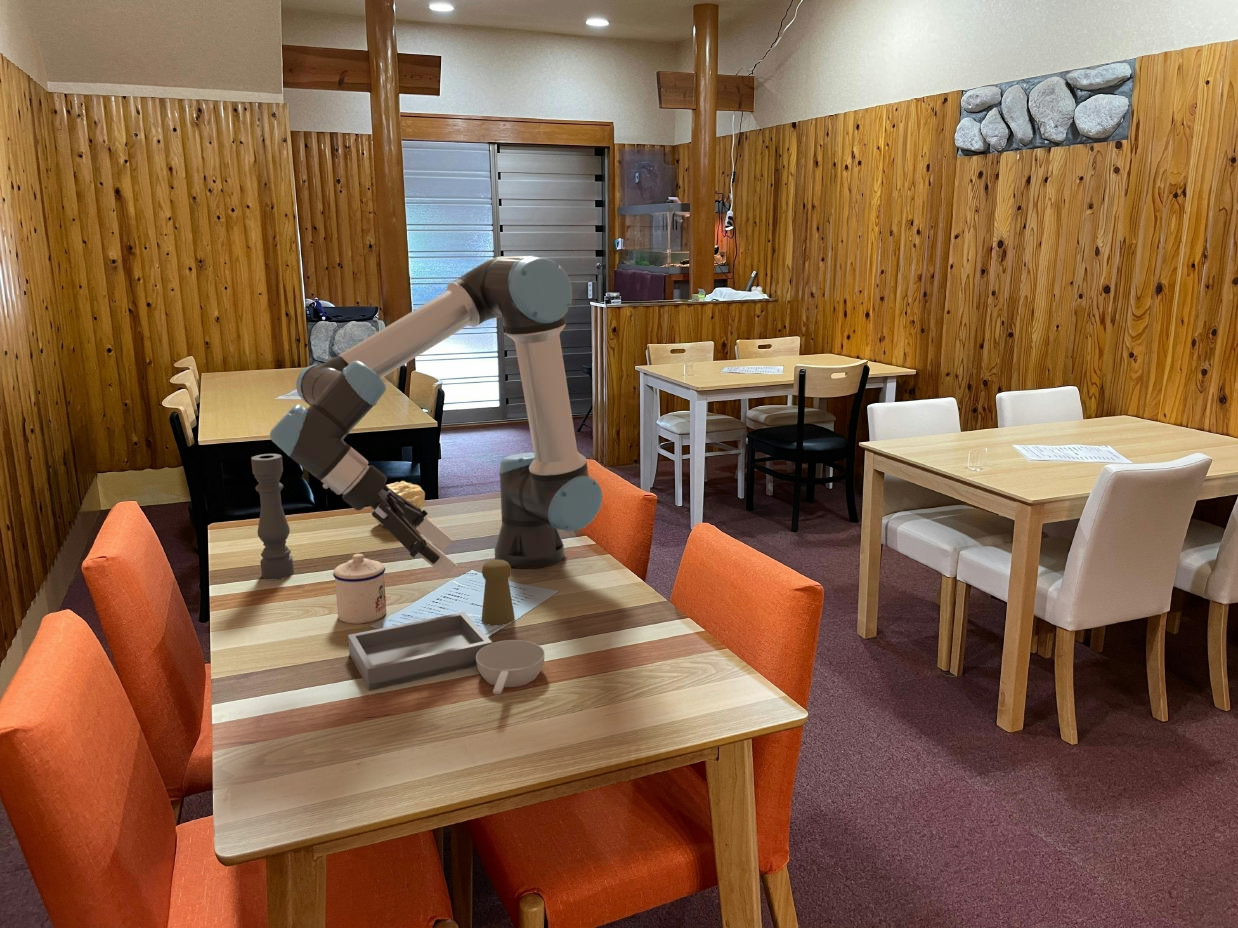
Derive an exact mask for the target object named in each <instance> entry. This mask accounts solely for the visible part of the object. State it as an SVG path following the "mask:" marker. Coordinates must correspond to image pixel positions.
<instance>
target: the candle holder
mask: <svg viewBox="0 0 1238 928" xmlns="http://www.w3.org/2000/svg"><path fill="white" fill-rule="evenodd" d="M250 460H251V468H252V474H253V475H254V478H255V479H256V481H257V482H258V484H257V485H256V486H255V491H256V492H258V494H259V500H260V511H259V512H260V514H259V519H258V526H257V536H258V538H259V540H261V542H262V543H263V546H264V547H263V549H262V551H261V554H260V555H261V556H260V557H262V558H261V560H260V561H259V562H260V571H261V577H262V578H263V579H264V578H265V579H264V580H268V579H277V580H282V578H283V579H287V578H289V576H290V577H291V576H293V575H294V572H295V571H294V560H293V559H294V558H293V556H292V555H291V551H292V550H291V549H290V548H289V547H288V546H287V545H286V544H287V539H288V537H289V535H290V533H291V532H290V531H291V529H290V525H289V522H288V520H287V517H286V515H285V512H284V509H283V507H282V498H281V495H282V494H281V492H282V490H283V488H284V484H282V483H281V482H280V480H281V477H282V475H283V472H284V467H283V456H282V455H281V454H278V453H264V454H262V453H261V454H258V455H255V456H251V459H250ZM286 577H287V578H286Z"/></svg>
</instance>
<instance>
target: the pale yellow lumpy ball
mask: <svg viewBox="0 0 1238 928" xmlns="http://www.w3.org/2000/svg"><path fill="white" fill-rule="evenodd" d="M385 485H386V486H387V487H388V488H390V489H391V490H392V491H394V492H395V493H397V494H398V495H400V496H401V497H403V498H404V499H406V500H407V501H409V502H410V503H412V504H413V505H415V506H416V507H418V508H420V509H421V511H423V508H424V507H425V503H426V500H425V498H426V493H425V491H424V490H423V489H422V487H421V486H420V485H418V484H413V483H411V482H406V481H405V480H401V481H400V482H399V481H396V482H393V483H389V484H385ZM373 511H374V509H373V508H372V507H371V513H372V512H373ZM374 519H375V521H376V522H377V523H378V524H380V525H381V526H383V527H385V526H384V525H383V524H382V523H381V522H379V521H378V520H377V519H376V518H374ZM411 525H412V524H411ZM412 526H413V525H412Z"/></svg>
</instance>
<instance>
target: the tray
mask: <svg viewBox="0 0 1238 928" xmlns="http://www.w3.org/2000/svg"><path fill="white" fill-rule="evenodd" d="M347 641H348V642H347V643H348V654H349V656H350V658H351V659H352V662H353V664H354V665H355V667H356V669H357V671H358V673H359V675H360V676H361V678H362V680H363V682H364V684H365V685H366V687H367V690H368V691H372V690H377V689H382V688H386V687H390V686H395V685H399V684H403V683H408V682H411V681H417V680H421V679H425V678H429V677H434V676H437V675H444V674H447V673H452V672H456V671H460V670H464V669H469V668H473V667H477V662H476V654H477V653H478V651H479V650H480V649H482V648H483V647H485V646H487V645H489V644H492V643H493V641H492V640H491V639H490V638H489V637H488V635H486V634H485V633H484V632H483V630H481V628H480V627H479V626H478V625H477V624H476V622H474V621H473V620H472V618H471V617H470V616H468V614H467V613H466V612H465V611H462V612H456V613H452V614H447V615H442V616H436V617H433V618H427V619H426V618H425V619H422V620H416V621H412V622H406V623H401V624H396V625H392V626H391V625H390V626H386V627H382V628H377V629H372V630H371V629H370V630H367V631H361V632H357V633H350V634H348V635H347Z"/></svg>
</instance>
